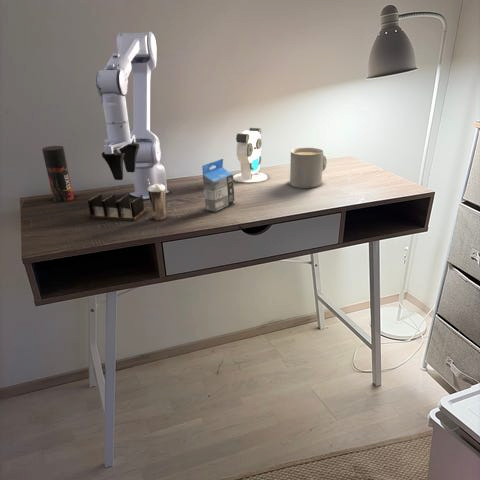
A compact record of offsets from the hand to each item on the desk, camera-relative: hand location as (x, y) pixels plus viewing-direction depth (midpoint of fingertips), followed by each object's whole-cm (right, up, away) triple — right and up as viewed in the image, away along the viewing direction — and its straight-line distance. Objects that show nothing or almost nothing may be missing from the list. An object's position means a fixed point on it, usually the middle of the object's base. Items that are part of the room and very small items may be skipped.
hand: (124, 175), depth 137 cm
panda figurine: (+34, +8, +33) cm, 48 cm away
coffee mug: (+53, +5, +26) cm, 59 cm away
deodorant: (-23, -2, +19) cm, 30 cm away
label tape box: (+25, -7, +8) cm, 27 cm away
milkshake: (+9, -11, +1) cm, 14 cm away
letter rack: (-3, -10, +4) cm, 11 cm away
